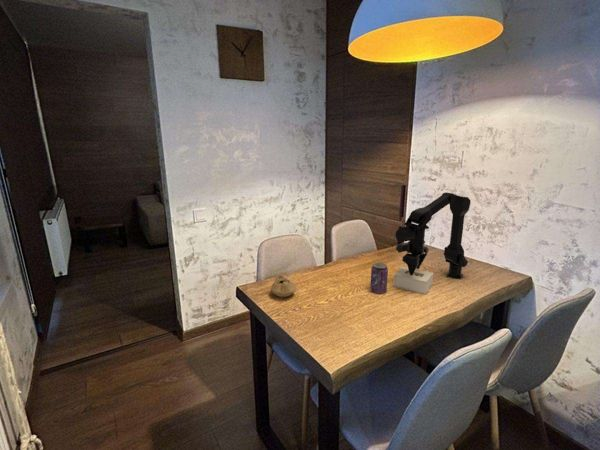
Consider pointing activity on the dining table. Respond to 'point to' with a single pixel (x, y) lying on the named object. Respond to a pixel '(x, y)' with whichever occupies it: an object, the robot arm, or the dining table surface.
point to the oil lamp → (283, 287)
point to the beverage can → (379, 277)
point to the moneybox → (413, 280)
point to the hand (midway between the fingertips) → (414, 271)
